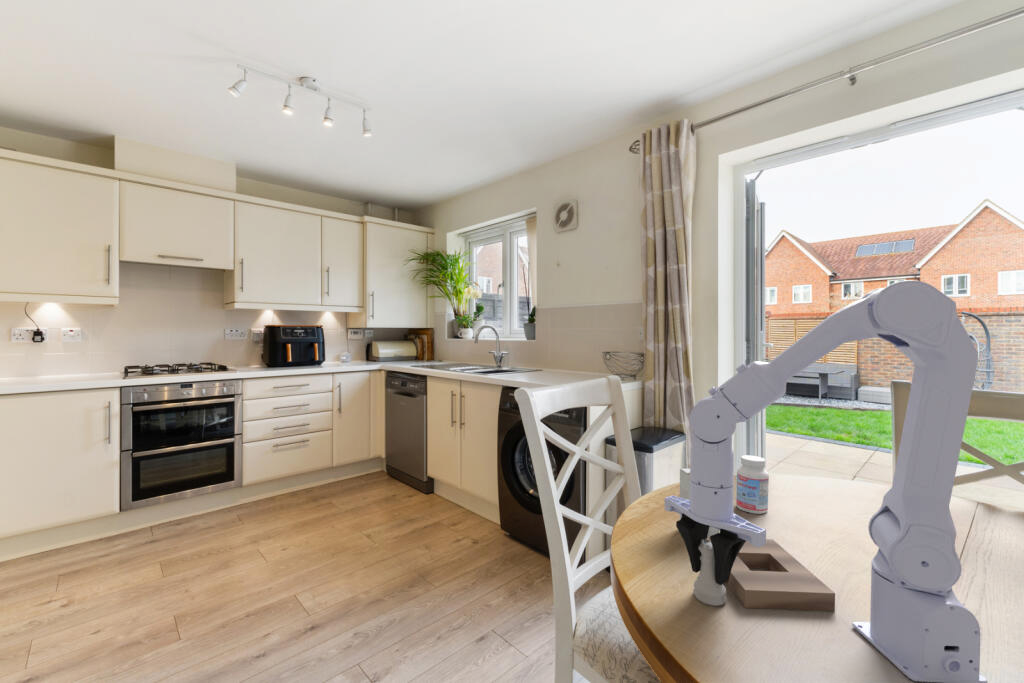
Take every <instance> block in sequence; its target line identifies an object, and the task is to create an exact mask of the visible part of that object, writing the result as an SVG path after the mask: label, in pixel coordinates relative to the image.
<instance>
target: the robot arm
mask: <svg viewBox="0 0 1024 683" xmlns="http://www.w3.org/2000/svg"><path fill="white" fill-rule="evenodd" d="M875 338H879V339H882V340H885V341H886V342H889V343H890V344H892V345H893V346H894V347H895V348H896V349H898V350H899V351H900V352H901V353H902V354H903V355H904V356H905V357H906V358H908V360H910V361H911V362H912V363H913V365H914V369H913V374H912V378H911V379H912V380H911V384H910V390H909V396H908V400H907V405H906V411H905V416H904V421H903V427H902V432H901V438H900V443H899V448H898V453H897V457H896V458H897V459H896V462H895V469H894V476H893V480H892V485H891V488H889V490H888V491H887V492H886V493H885V494H884V495H883V498H882V502H881V505H880V508H879V509H878V510H877V511H876V512H875V513H874V514H873V515H872V516H871V518H870V519H869V522H868V533H869V536H870V539H871V540H872V541H873V543H874V544H875V545H876V546H877V547H878V550H877V552H876V554H875V556H874V557H873V558H872V560H871V564H870V566H871V567H870V568H871V570H870V576H871V577H870V615H869V616H870V618H869V620H870V621H852V627H853V628H854V629H855V630H856V631H858V633H860V635H862V636H863V637H864V638H865V639H866V640H867V641H868V642H870V643H871V644H872V646H874V648H876V649H877V650H878V651H879V652H880V653H881V654H882V655H883V656H885V657H886V659H888V660H889V661H890V662H891V663H892V664H893V665H894V666H895V667H897V668H898V669H899V670H900V671H901V672H902V673H903V674H904V675H905V676H906V677H907V678H908V679H910V680H912V681H914V682H921V683H923V682H925V683H988V679H987V678H986V677H985V676H984V675H983V674H980V668H981V667H980V666H981V665H980V660H981V627H980V624H979V621H978V620H977V617H976V616H975V615H974V613H972V612H971V611H970V610H969V609H968V608H967V607H965V605H963V603H962V602H961V601H960V600H959V599H958V598H957V596H956V594H955V592H954V589H953V586H954V585H956V584H957V583H958V581H959V580H960V577H961V576H962V564H961V563H962V562H961V560H960V558H959V555H958V554H957V551H956V540H957V530H956V527H955V522H954V520H953V517H952V516H953V515H952V512H951V509H950V503H951V500H952V499H951V498H952V494H953V488H954V484H955V478H956V473H957V468H958V463H959V458H960V453H961V447H962V444H963V439H964V433H965V428H966V424H967V418H968V413H969V408H970V403H971V399H972V398H971V397H972V394H973V389H974V384H975V383H974V382H975V379H976V372H977V369H978V364H979V352H978V349H977V348H976V346H975V343H974V342H973V340H972V338H971V337H970V335H969V333H968V331H967V330H966V327H965V326H964V325H963V323H962V321H961V319H960V317H959V315H958V310H957V302H956V301H955V300H953V299H952V298H950V297H949V296H948V295H946V294H944V293H943V292H942V291H940V290H939V289H938V288H936V287H935V286H933V285H932V284H930V283H927V282H925V281H921V280H916V279H908V280H900V281H896V282H893V283H891V284H889V285H887V286H885V287H880V288H876V289H873V290H871V291H869V292H867V293H866V294H865V295H863V297H861V299H858V300H855V301H853V302H850V303H849V304H848V305H846V306H843V307H842V308H840V309H838V310H837V311H835V312H833V313H831V314H830V315H828V316H827V317H825V318H824V319H823V320H821V321H820V322H819V323H818V324H817V325H815V326H814V327H813V328H812V329H810V330H809V331H808V332H806V333H805V334H804V335H803V336H801V337H800V338H798V339H797V340H796V341H794V342H793V344H791V345H789V346H788V347H787V348H786V349H785V350H783V351H782V352H781V353H779V354H778V355H777V356H776V357H774V358H773V359H772V360H771V361H768V362H767V361H757V360H756V361H755V360H754V361H752V362H750V363H749V364H748V365H746V364H745V363H742V364H740V365H739V366H738V367H736V369H735V370H736V371H737V373H735V374H734V375H733V376H731V377H730V378H729V379H728V380H726V381H725V382H723V383H722V384H721V385H720V386H718V387H717V388H716V387H715V386H713V387H711V388H710V389H708V394H710V396H705V397H703V398H700V399H698V401H697V402H696V403H695V404H694V406H693V407H692V409H691V411H690V414H689V416H688V419H689V421H688V422H689V427H690V428H691V431H692V432H691V437H690V441H691V446H690V449H689V452H690V453H689V455H690V456H689V469H690V500H688V499H683V498H680V496H679V497H678V496H677V495H669V496H665V497H664V511H667V512H669V513H670V512H674V513H676V514H679V515H680V514H681V515H682V518H681V520H680V519H679V520H677V521H676V523H675V527H676V529H677V530H678V533H679V534H680V536H681V538H682V540H683V542H684V544H685V545H684V546H685V548H686V551H687V554H688V558H689V561H690V565H691V566H690V567H691V571H692V572H694V573H700V569H701V560H700V556H701V555H702V554H701V552H700V550H699V549H698V546H699V545H700V544H701V540H702V539H703V540H704V542H705V539H707V536H708V531H709V527H710V526H711V527H714V528H716V529H719V533H717V534H714V535H712V536H710V540H711V543H712V547H713V551H714V558H715V581H716V583H717V584H719V585H722V584H723V585H724V584H726V582H728V581H729V577H730V573H731V570H732V567H733V564H734V561H735V559H736V557H737V555H738V553H739V551H740V550H741V548H742V546H743V545H744V543H745V542H746V541H748V542H750V544H751V545H752V546H755V547H757V548H758V547H760V546H763V545H765V544H766V539H767V529H765V528H763V527H761V526H758V525H757V524H754V523H752V522H750V521H749V520H747V519H745V518H743V517H741V516H740V515H738V514H736V513H735V512H734V498H735V497H734V492H735V490H734V488H735V487H734V481H735V480H734V479H735V478H734V477H735V472H734V471H735V452H734V450H733V435H734V434H735V430H736V428H737V424H738V423H745V422H746V423H747V422H748V421H749V420H750V419H752V418H753V417H755V416H756V415H757V414H759V413H761V412H762V411H764V410H765V409H766V408H768V407H769V406H771V405H772V404H773V403H775V402H776V401H778V400H779V399H781V398H782V397H784V396H785V395H786V393H787V382H788V380H790V379H791V378H793V377H794V376H796V375H797V374H799V373H800V372H802V371H804V370H805V369H807V368H808V367H810V366H811V365H813V364H814V363H816V362H817V361H818V360H821V359H822V358H824V357H825V356H827V355H828V354H829V353H831V352H833V351H834V350H835V349H837V348H839V347H841V345H843V344H846V343H851V342H857V341H862V340H863V341H864V340H868V339H875Z"/></svg>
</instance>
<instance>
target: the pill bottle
mask: <svg viewBox="0 0 1024 683" xmlns="http://www.w3.org/2000/svg"><path fill="white" fill-rule="evenodd" d="M740 464H741V465H740V466H739V467H738V468H737V471H736V496H735V497H736V500H735V501H736V508H738V509H739V510H740V511H744V512H746V513H748V512H749V514H753V515H754V514H755V515H760V514H761V515H762V514H765V513H767V512H768V509H769V485H770V484H769V483H770V482H769V479H770V478H769V477H770V475H769V472H768V471H767V470H766V469H765V467H766V458H764V457H760V456H757V455H750V454H748V455H747V454H746V455H745V454H744V455H741V457H740Z"/></svg>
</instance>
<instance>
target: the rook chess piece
mask: <svg viewBox="0 0 1024 683" xmlns="http://www.w3.org/2000/svg"><path fill="white" fill-rule="evenodd" d="M698 549H699V550H700V552H701V554H702V555H701V556H700V560H701V569H700V571H699V574H698V576H697V577H696V580H694V581H693V582H694V583H693V590H692V591H693V595H694V596H695V597H696V599H697V600H698V601H700V603H702V604H705V605H706V606H711V607H721V606H722V605H724V604H725V603H726V601H727V600H728V598H727V596H726V595H727V589H726V587H725V585H724V584H722V585H719V584H717V583H716V581H715V558H714V551H713V547H712V543H711V542H709V539H705V542H704V540H703V539H702V540H701V544H700V545H699V546H698Z"/></svg>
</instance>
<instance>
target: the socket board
mask: <svg viewBox="0 0 1024 683" xmlns="http://www.w3.org/2000/svg"><path fill="white" fill-rule="evenodd" d="M707 539H709V542H711V540H710V537H707ZM750 569H761V570H750ZM762 569H764V570H762ZM765 569H766V571H765ZM769 570H770V571H769ZM725 584H726V585H727V587H728V588H729V589H730V590H731V591H732V593H733V595H734V596H735V597H736V598H737V599H738V601H739V603H741V604H743V605H742V606H743V607H744V608H745V609H765V610H767V609H769V610H770V609H771V610H789V611H791V610H794V611H795V610H796V611H813V612H814V611H815V612H819V611H821V612H835V611H836V593H835V592H834V590H832V589H831V588H830V587H828V585H826V584H825V583H824V582H823V581H821V580H820V579H819V578H818V577H817V576H816V575H814V574H813V572H811V571H810V570H809V569H808V568H806V567H805V566H804V565H803V564H802V563H801V562H800V561H798V560H797V559H796V558H795V557H794V556H793V555H791V553H789V552H788V551H787V550H786V549H784V547H782V546H781V545H780V544H779V543H777V542H776V541H775V540H774V539H771V538H766V544H765V545H763V546H760V547H758V548H757V547H755V546H752V545H751V544H750V542H748V541H746V542H745V543H744V545H743V546H742V548H741V550H740V551H739V553H738V555H737V557H736V559H735V561H734V564H733V567H732V570H731V573H730V577H729V581H728V582H726V583H725Z"/></svg>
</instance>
